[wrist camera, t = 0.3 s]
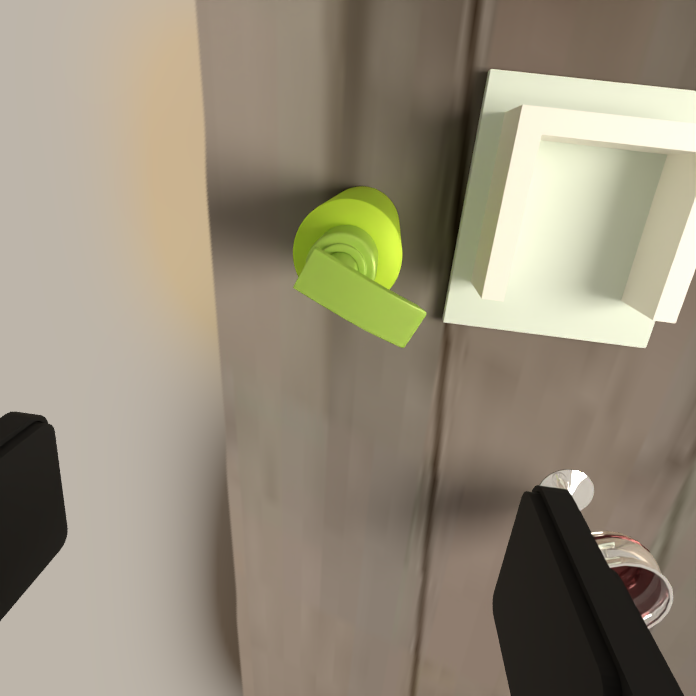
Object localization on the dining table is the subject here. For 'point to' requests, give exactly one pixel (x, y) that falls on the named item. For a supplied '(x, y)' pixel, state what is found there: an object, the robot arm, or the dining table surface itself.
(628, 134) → the u rest
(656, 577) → the wineglass
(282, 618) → the dining table surface
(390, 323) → the soap dispenser
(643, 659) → the robot arm
